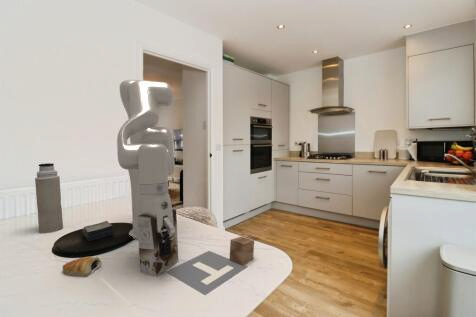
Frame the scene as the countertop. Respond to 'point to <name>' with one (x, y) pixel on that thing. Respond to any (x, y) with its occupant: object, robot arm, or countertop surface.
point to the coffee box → (155, 246)
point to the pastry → (82, 266)
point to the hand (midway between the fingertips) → (156, 250)
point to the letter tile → (206, 271)
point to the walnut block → (241, 250)
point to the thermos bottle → (48, 199)
